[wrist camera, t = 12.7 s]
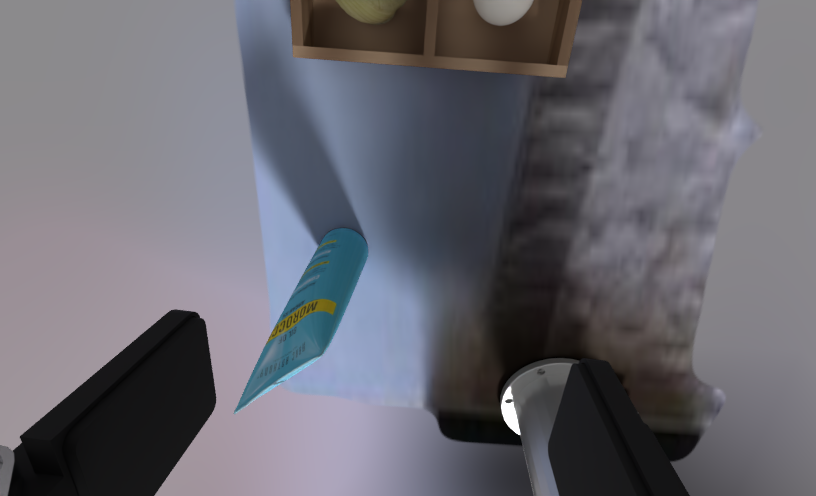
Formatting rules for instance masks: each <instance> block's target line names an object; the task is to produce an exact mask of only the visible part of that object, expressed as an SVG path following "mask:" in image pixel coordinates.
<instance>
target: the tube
mask: <svg viewBox="0 0 816 496" xmlns="http://www.w3.org/2000/svg"><path fill="white" fill-rule="evenodd" d="M367 257H368V246H367V244H366V241H365V240H364V238H363V237H362V236H361V235H360V234H359V233H357V232H355V231H354V230H351V229H348V228H338V229H334V230H332V231H330V232H329V233H327V234H326V235H325V237H324V238H323V240H322V241H321V243H320V245H319V247H318V248H317V250H316V252H315V254H314V255H313V257H312V259H311V261H310V263H309V265H308V266H307V268H306V270H305V272H304V274H303V275H302V277H301V279H300V281H299V283H298V285H297V287H296V288H295V290H294V292H293V294H292V296H291V298H290V300H289V301H288V303H287V305H286V307H285V309H284V311H283V313H282V314H281V316H280V318H279V320H278V322H277V324H276V326H275V328H274V330H273V331H272V333H271V335H270V337H269V339H268V341H267V343H266V345H265V347H264V349H263V352H262V353H261V356H260V358H259V360H258V362H257V364H256V366H255V368H254V370H253V373H252V375H251V377H250V379H249V381H248V383H247V386H246V388H245V390H244V392H243V394H242V397H241V399H240V401H239V404H238V406H237V408H236V410H235V412H234V414H236V413H237V412H239V411H240V410H241V409H243V408H245V407H246V406H247V405H249V404H250V403H251V402H252V401H254V400H255V399H257V398H258V397H260V396H262V395H263V394H265V393H267V392H268V391H270V390H271V389H273V388H274V387H276V386H278V385H279V384H281V383H282V382H284V381H286V380H287V379H289V378H290V377H292V376H294V375H295V374H297V373H298V372H300V371H301V370H303V369H304V368H306V367H307V366H309V365H310V364H312V363H313V362H315V361H316V360H318V359H319V358H320V357H321V356H322V355H323V354H324V353H325V351H326V350H327V348H328V347H329V345H330V343H331V341H332V339H333V337H334V335H335V333H336V331H337V329H338V326H339V324H340V322H341V320H342V317H343V315H344V313H345V310H346V308H347V306H348V303H349V301H350V298H351V296H352V294H353V291H354V289H355V287H356V284H357V282H358V279H359V277H360V275H361V272H362V270H363V267H364V265H365V263H366V260H367Z"/></svg>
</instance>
